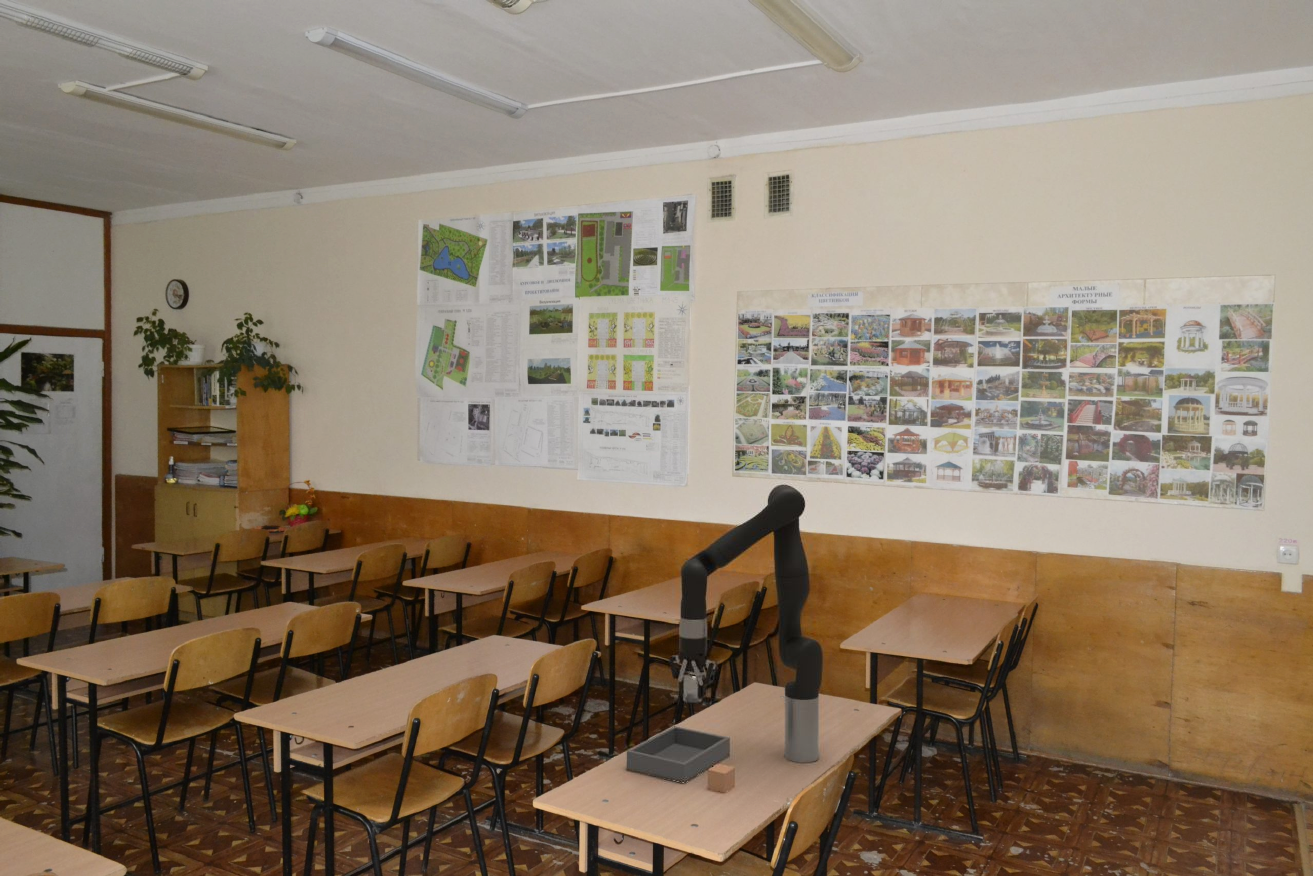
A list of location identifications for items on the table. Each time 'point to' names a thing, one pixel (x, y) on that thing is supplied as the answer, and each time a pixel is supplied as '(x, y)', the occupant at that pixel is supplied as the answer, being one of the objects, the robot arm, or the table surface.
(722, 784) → the cube
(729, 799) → the table surface
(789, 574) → the robot arm
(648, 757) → the tote
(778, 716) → the table surface
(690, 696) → the cylinder
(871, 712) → the table surface
